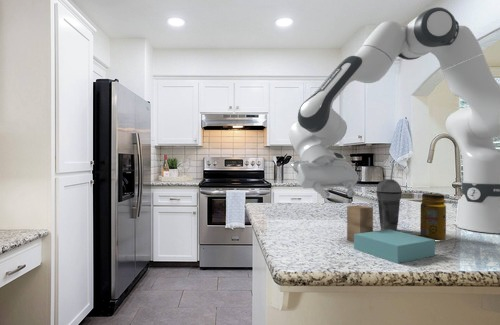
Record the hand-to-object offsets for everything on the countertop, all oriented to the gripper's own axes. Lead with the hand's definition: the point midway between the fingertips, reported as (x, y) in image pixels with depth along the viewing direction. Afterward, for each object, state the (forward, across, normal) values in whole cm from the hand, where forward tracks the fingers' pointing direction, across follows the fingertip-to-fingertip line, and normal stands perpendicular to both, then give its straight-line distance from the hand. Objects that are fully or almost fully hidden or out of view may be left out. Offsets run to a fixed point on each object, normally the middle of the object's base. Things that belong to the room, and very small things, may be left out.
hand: (339, 196), depth 89 cm
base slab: (+21, -1, -5) cm, 21 cm away
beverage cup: (+9, +18, +7) cm, 21 cm away
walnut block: (+13, 0, +2) cm, 13 cm away
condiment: (+17, +20, -2) cm, 27 cm away
